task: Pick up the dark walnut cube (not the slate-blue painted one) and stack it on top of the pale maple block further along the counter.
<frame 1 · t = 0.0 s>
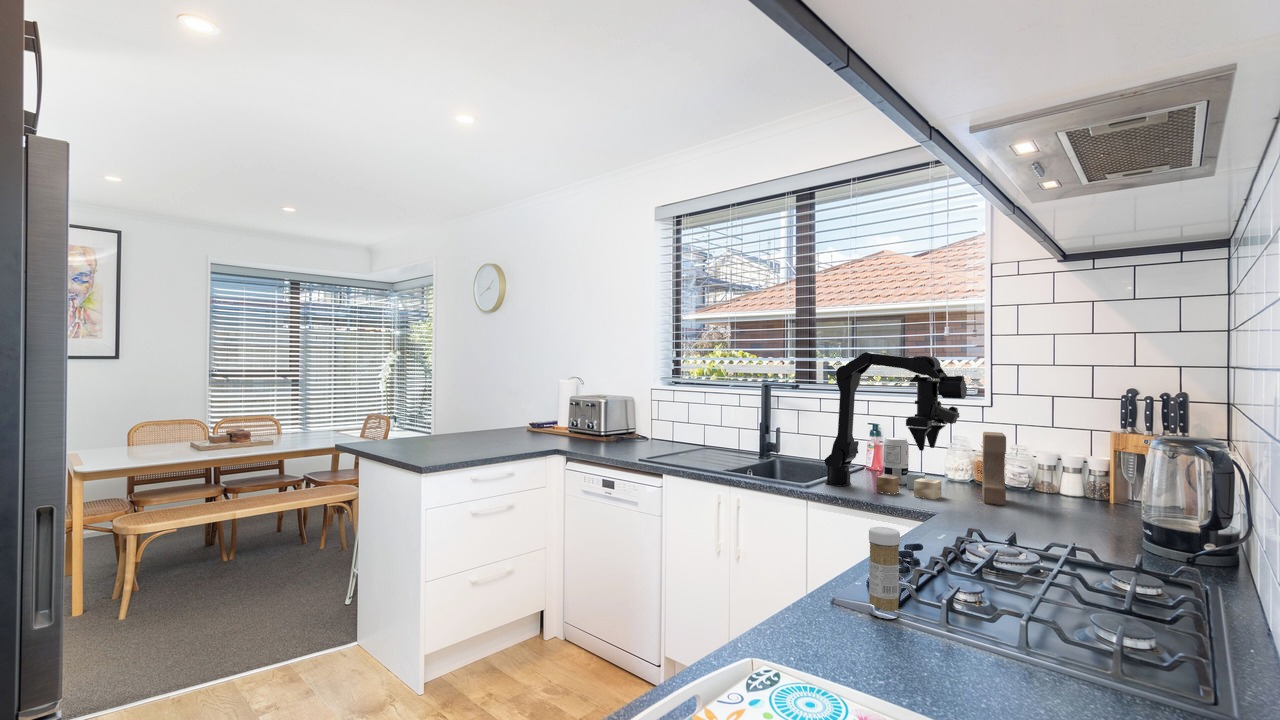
hand: (926, 449, 187), 15 cm above the countertop, tool pointing down, fingers open, 9 cm apart
supplement can: (895, 483, 211), on the countertop
walnut cube: (887, 492, 193), on the countertop
slate cube: (915, 489, 200), on the countertop
sprinkles bottle: (883, 616, 97), on the countertop
maple block: (927, 497, 188), on the countertop
decorative block: (993, 501, 183), on the countertop
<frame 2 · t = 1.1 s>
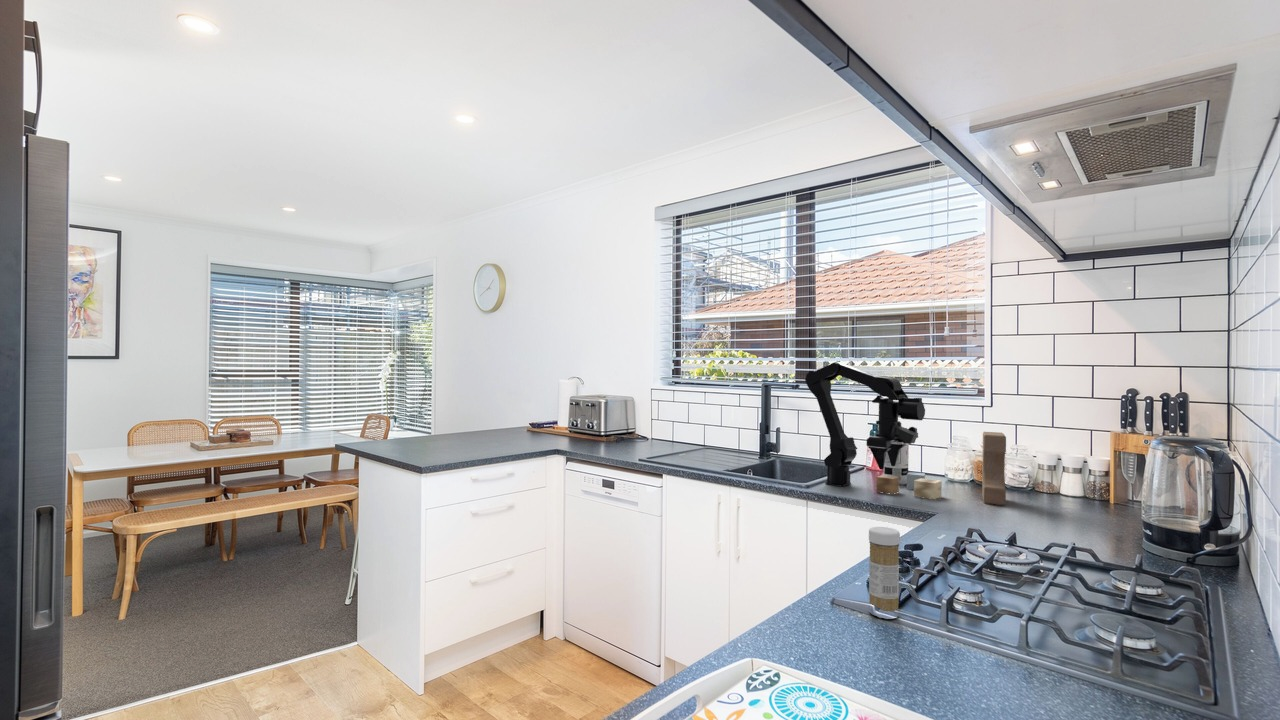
hand: (887, 467, 194), 8 cm above the countertop, tool pointing down, fingers open, 9 cm apart
nothing on the countertop moved.
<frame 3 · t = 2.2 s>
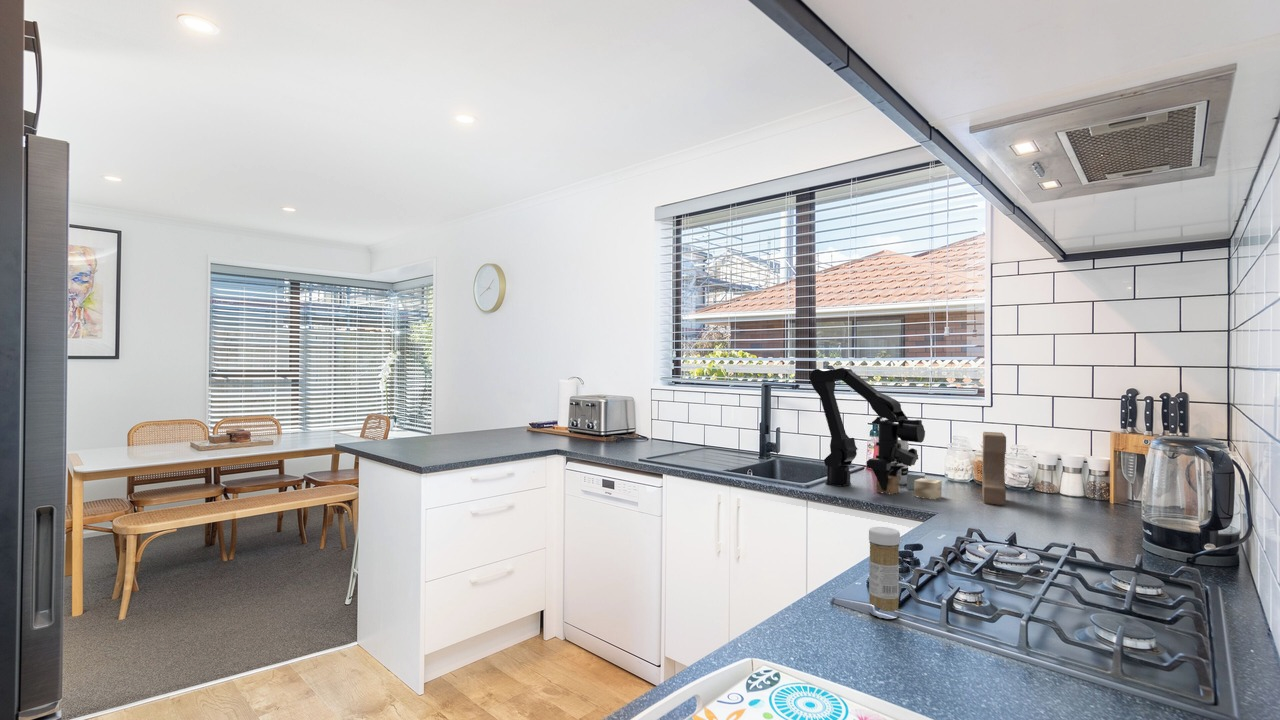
hand: (887, 489, 193), 1 cm above the countertop, tool pointing down, fingers closed on walnut cube, 5 cm apart
walnut cube: (887, 492, 193), on the countertop, touching gripper
everything else where it was.
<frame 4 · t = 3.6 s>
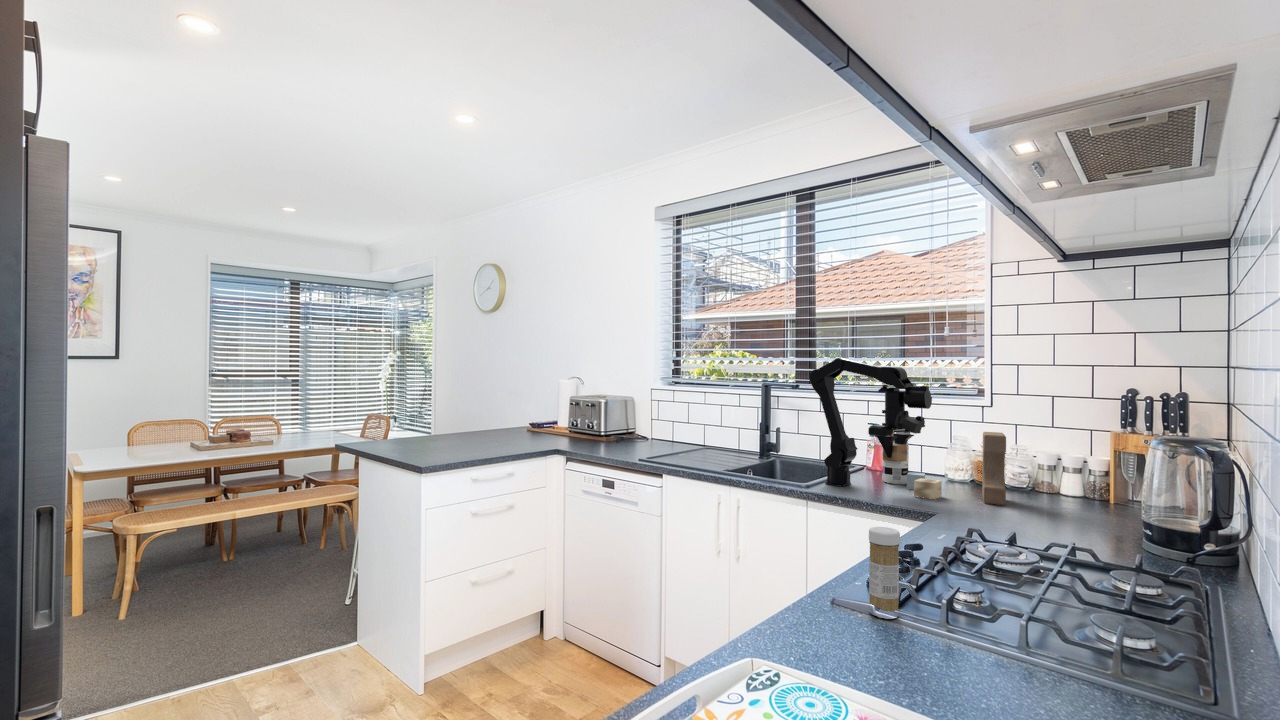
hand: (894, 457, 193), 11 cm above the countertop, tool pointing down, fingers closed on walnut cube, 5 cm apart
walnut cube: (894, 460, 193), point 10 cm above the countertop, touching gripper
everything else where it was.
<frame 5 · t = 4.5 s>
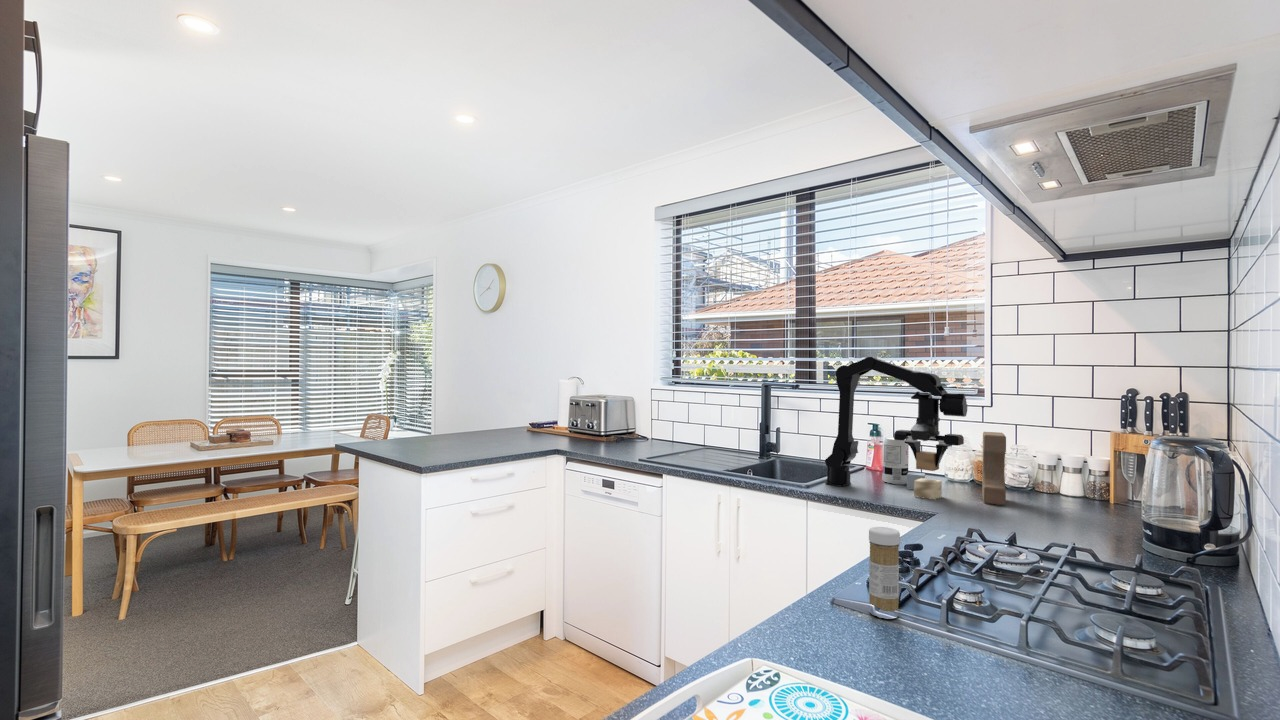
hand: (927, 465, 188), 9 cm above the countertop, tool pointing down, fingers closed on walnut cube, 5 cm apart
walnut cube: (927, 469, 188), point 8 cm above the countertop, touching gripper
everything else where it was.
when the fingers open (7 cm above the countertop, at t = 5.2 s): walnut cube drops 1 cm, resting on maple block.
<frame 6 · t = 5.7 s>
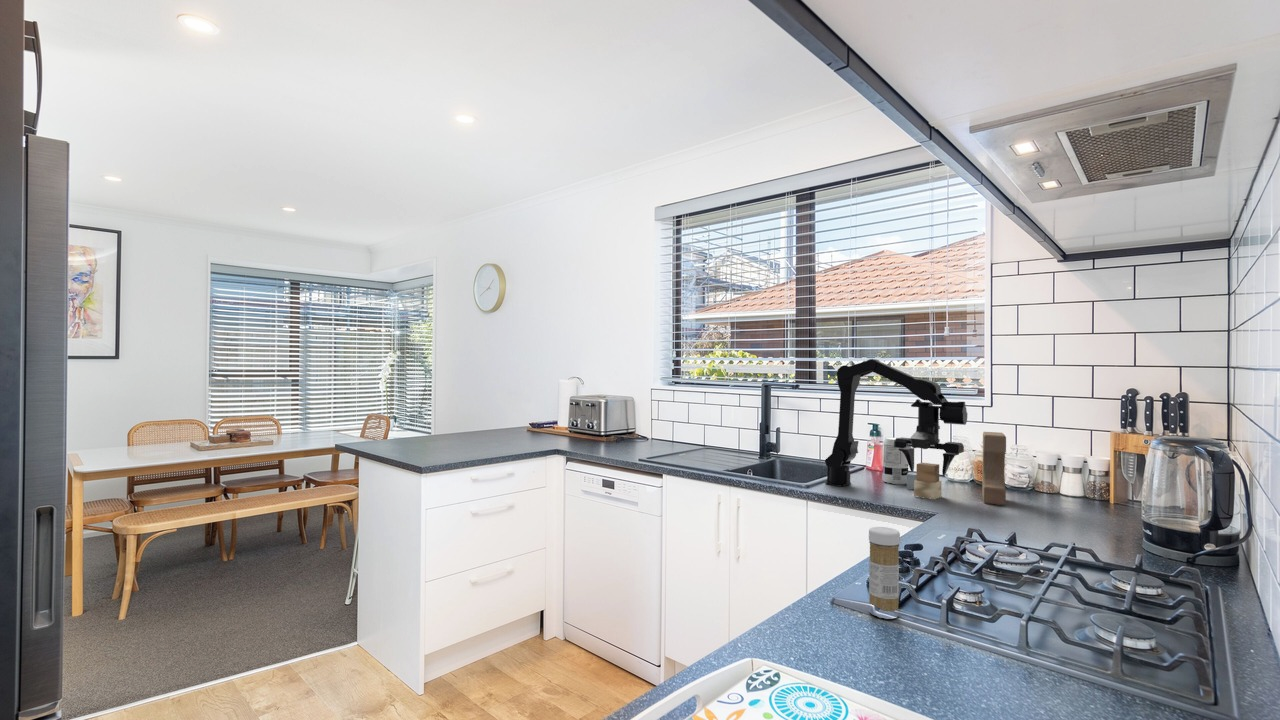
hand: (927, 473, 188), 7 cm above the countertop, tool pointing down, fingers open, 9 cm apart
walnut cube: (927, 480, 188), point 5 cm above the countertop, touching maple block
maple block: (927, 497, 188), on the countertop, touching walnut cube
everything else where it was.
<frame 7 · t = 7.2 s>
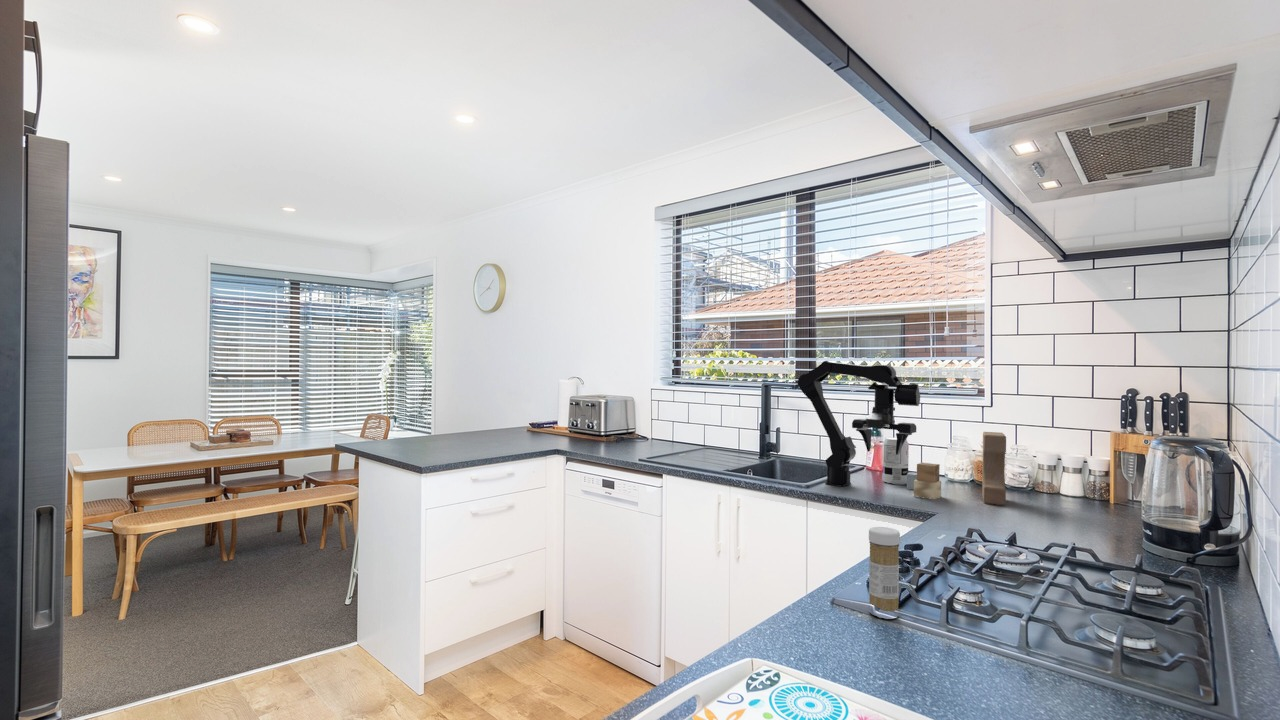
hand: (882, 452, 198), 12 cm above the countertop, tool pointing down, fingers open, 9 cm apart
nothing on the countertop moved.
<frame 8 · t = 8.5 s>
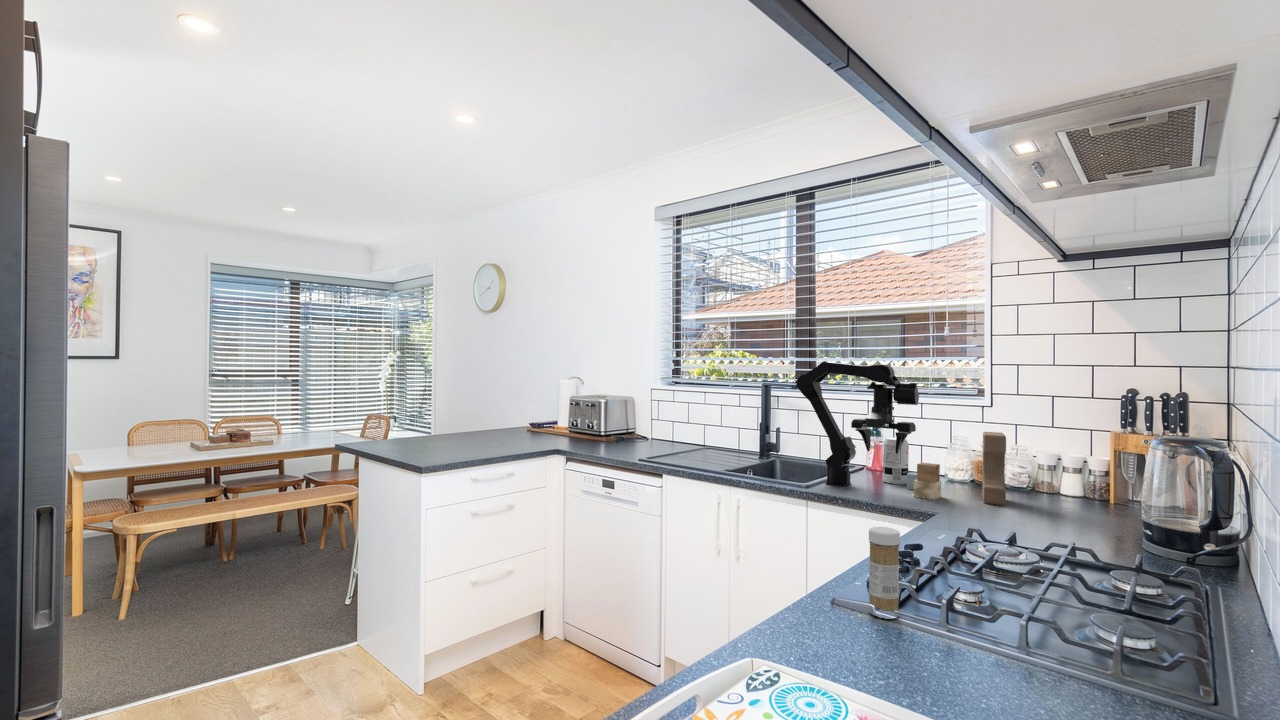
hand: (882, 452, 198), 12 cm above the countertop, tool pointing down, fingers open, 9 cm apart
walnut cube: (928, 480, 188), point 5 cm above the countertop
maple block: (927, 497, 188), on the countertop
everything else where it was.
at the end: walnut cube 0.3 cm off-centre on the maple block, point 5.0 cm above the maple block's base; walnut cube tilted 0°; the gripper is holding nothing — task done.
